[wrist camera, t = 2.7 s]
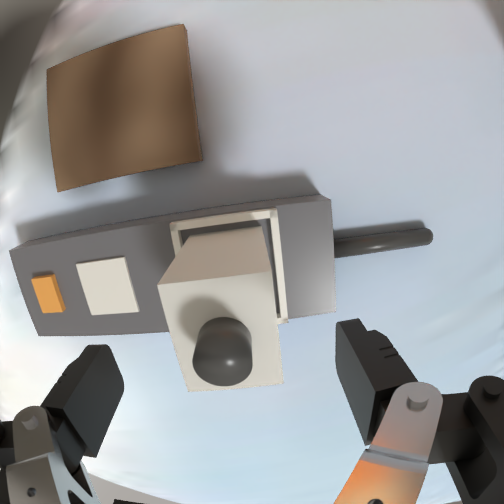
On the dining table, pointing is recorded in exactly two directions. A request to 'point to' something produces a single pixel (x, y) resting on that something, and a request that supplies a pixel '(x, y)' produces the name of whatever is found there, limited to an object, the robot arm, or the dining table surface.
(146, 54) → the walnut board
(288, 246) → the grey panel with rod
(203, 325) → the plug
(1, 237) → the dining table surface
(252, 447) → the dining table surface
